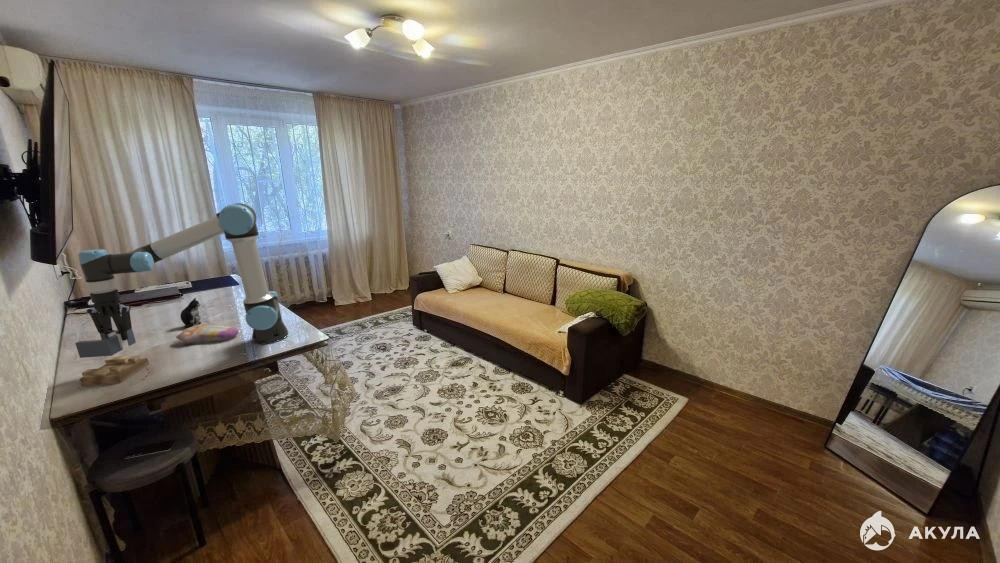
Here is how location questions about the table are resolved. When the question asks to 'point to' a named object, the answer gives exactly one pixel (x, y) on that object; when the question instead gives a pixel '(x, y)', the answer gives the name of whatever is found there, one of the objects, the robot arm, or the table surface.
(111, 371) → the stand
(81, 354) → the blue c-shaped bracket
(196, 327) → the sculpture
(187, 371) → the table surface
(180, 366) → the table surface
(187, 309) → the figurine
